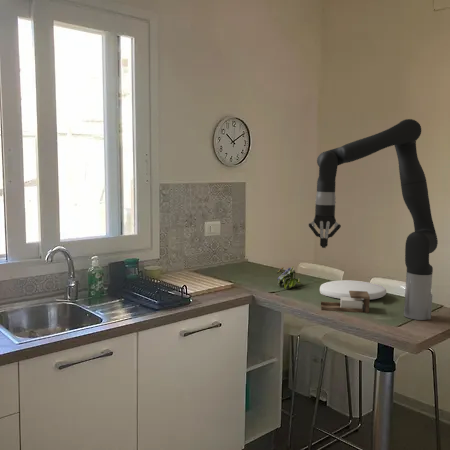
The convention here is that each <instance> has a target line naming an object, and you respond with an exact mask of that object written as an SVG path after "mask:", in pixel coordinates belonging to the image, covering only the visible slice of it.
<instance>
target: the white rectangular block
mask: <svg viewBox="0 0 450 450" xmlns="http://www.w3.org/2000/svg"><path fill="white" fill-rule="evenodd" d="M339 303H340V308H357V309H362V304H364V300H362V299H360V298H351V297H341V299H340V302H339Z"/></svg>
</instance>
